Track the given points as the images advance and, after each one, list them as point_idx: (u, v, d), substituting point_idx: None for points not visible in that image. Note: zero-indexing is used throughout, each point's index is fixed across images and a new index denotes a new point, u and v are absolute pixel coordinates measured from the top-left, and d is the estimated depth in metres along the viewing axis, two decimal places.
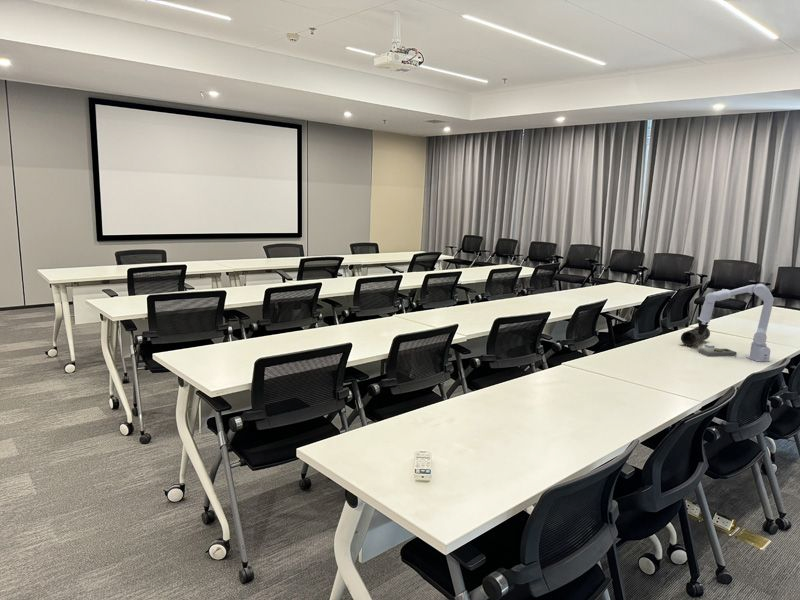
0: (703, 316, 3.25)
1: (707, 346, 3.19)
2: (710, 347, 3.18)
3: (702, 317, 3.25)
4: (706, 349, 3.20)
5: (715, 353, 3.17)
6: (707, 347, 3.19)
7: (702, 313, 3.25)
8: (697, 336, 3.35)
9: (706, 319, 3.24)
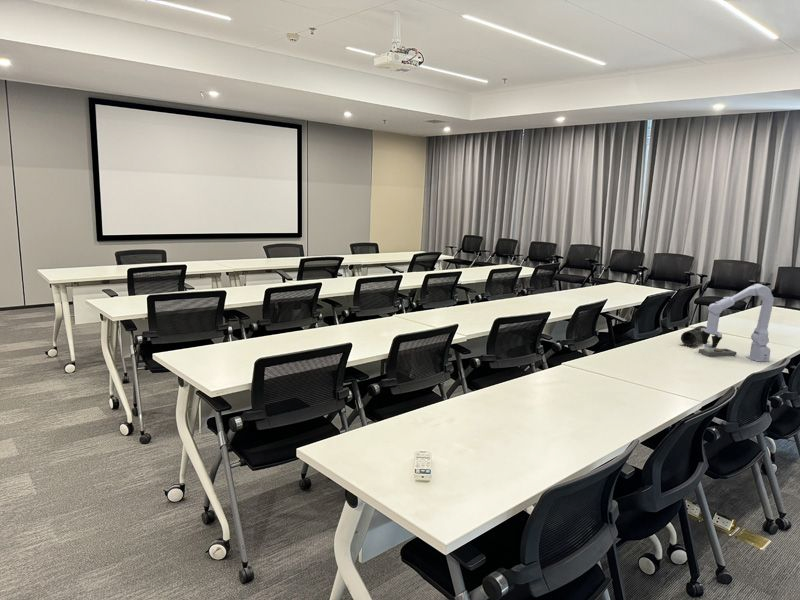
0: (713, 328, 3.15)
1: (707, 346, 3.19)
2: (710, 347, 3.18)
3: (712, 330, 3.15)
4: (706, 349, 3.20)
5: (715, 353, 3.17)
6: (707, 347, 3.19)
7: (712, 326, 3.15)
8: (697, 336, 3.35)
9: (716, 331, 3.16)
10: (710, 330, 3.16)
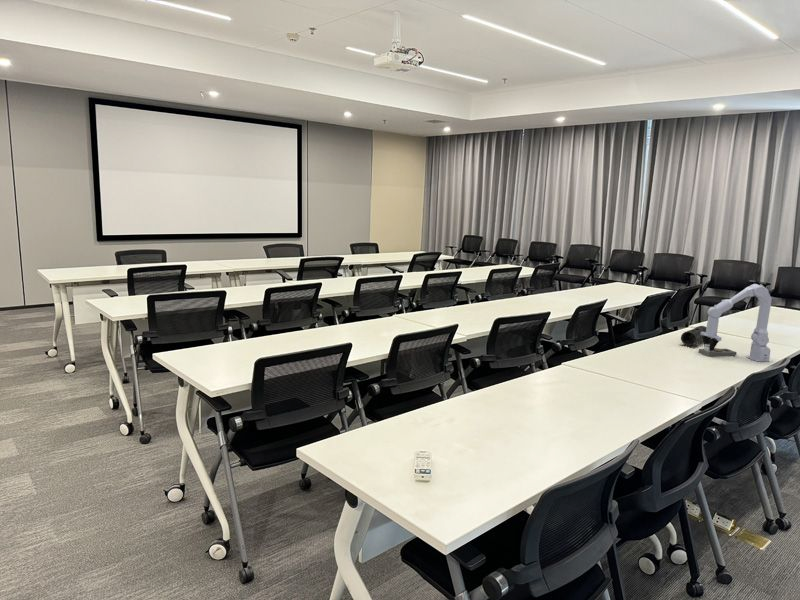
0: (713, 332, 3.15)
1: (707, 346, 3.19)
2: None
3: (712, 333, 3.16)
4: (706, 349, 3.20)
5: (715, 353, 3.17)
6: (707, 347, 3.19)
7: (711, 329, 3.16)
8: (697, 336, 3.35)
9: (716, 334, 3.16)
10: (710, 334, 3.16)
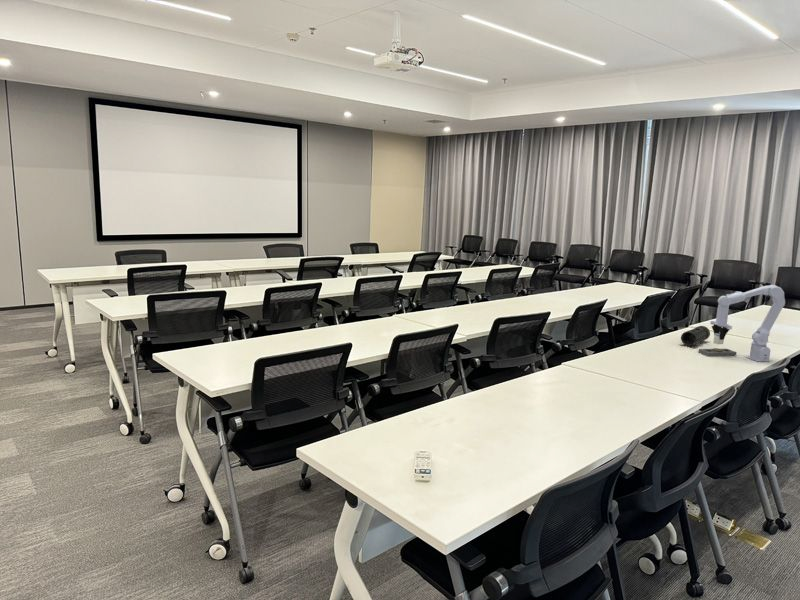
0: (723, 321, 3.15)
1: (717, 335, 3.19)
2: None
3: (722, 322, 3.15)
4: (716, 338, 3.19)
5: (715, 353, 3.17)
6: (717, 336, 3.19)
7: (721, 318, 3.15)
8: (697, 336, 3.35)
9: (726, 323, 3.16)
10: (720, 322, 3.16)
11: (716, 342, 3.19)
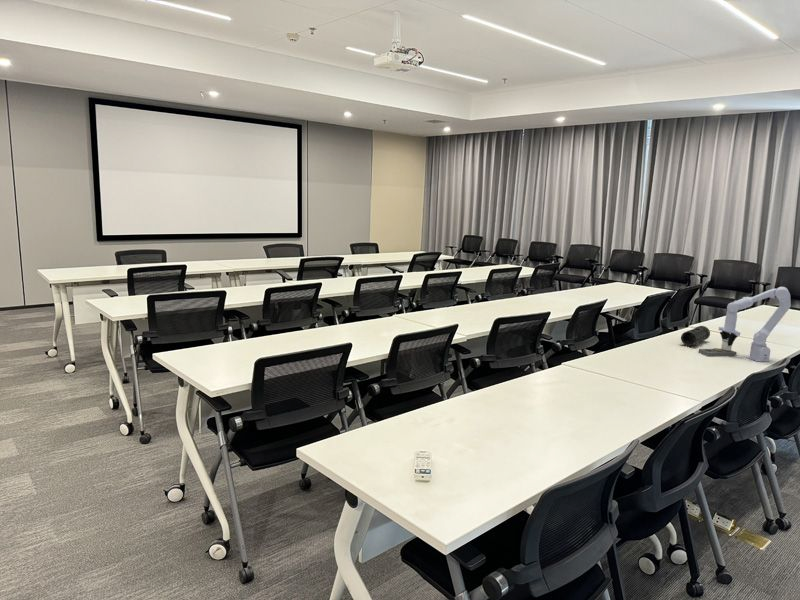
0: (731, 327, 3.17)
1: (725, 341, 3.20)
2: None
3: (730, 328, 3.17)
4: (724, 344, 3.21)
5: (715, 353, 3.17)
6: (725, 342, 3.20)
7: (730, 324, 3.17)
8: (697, 336, 3.35)
9: (734, 329, 3.18)
10: (728, 329, 3.18)
11: (724, 348, 3.21)
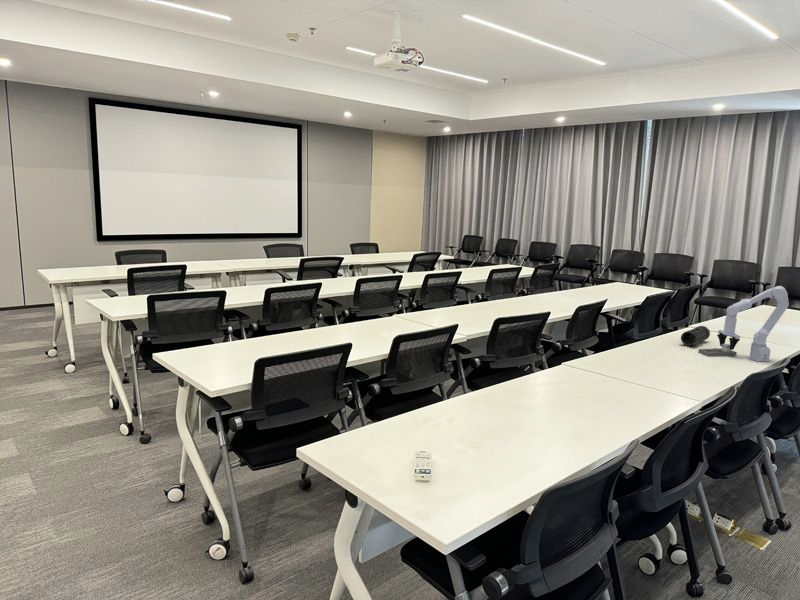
0: (731, 330, 3.17)
1: (724, 346, 3.21)
2: (727, 347, 3.20)
3: (730, 332, 3.18)
4: (723, 349, 3.22)
5: (715, 353, 3.17)
6: (724, 347, 3.21)
7: (729, 328, 3.18)
8: (697, 336, 3.35)
9: (734, 333, 3.18)
10: (728, 332, 3.18)
11: None
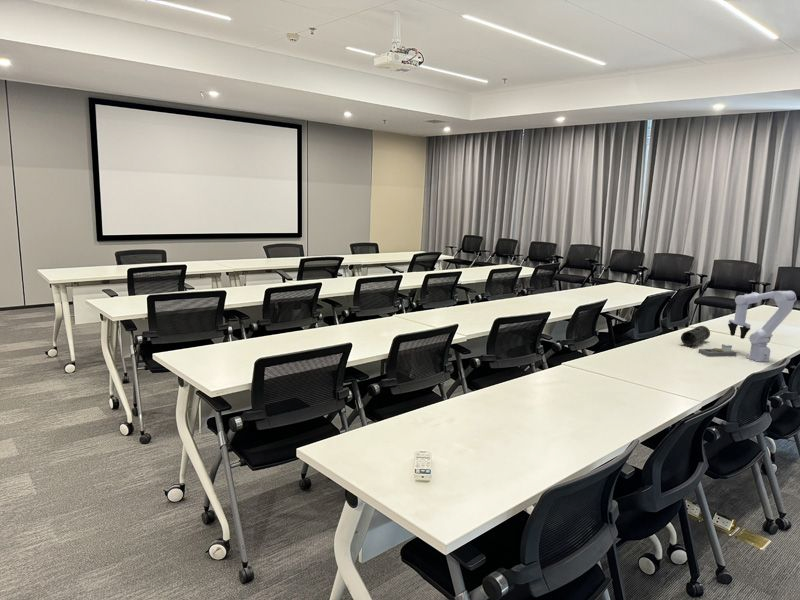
0: (742, 319, 3.21)
1: (724, 346, 3.21)
2: (728, 347, 3.20)
3: (741, 321, 3.21)
4: (723, 349, 3.22)
5: (715, 353, 3.17)
6: (724, 347, 3.21)
7: (740, 317, 3.21)
8: (697, 336, 3.35)
9: (744, 322, 3.22)
10: (738, 321, 3.22)
11: None
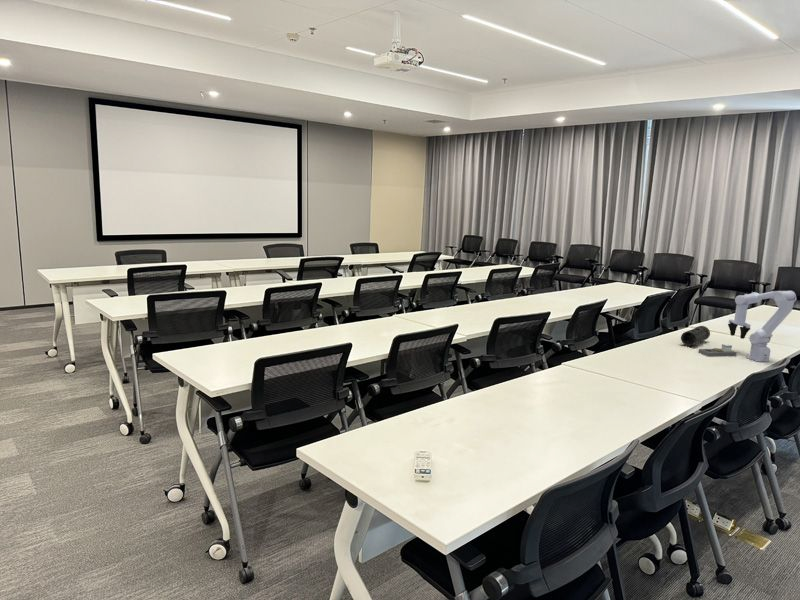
0: (742, 319, 3.21)
1: (724, 346, 3.21)
2: (728, 347, 3.20)
3: (741, 321, 3.21)
4: (723, 349, 3.22)
5: (715, 353, 3.17)
6: (724, 347, 3.21)
7: (740, 317, 3.21)
8: (697, 336, 3.35)
9: (744, 322, 3.22)
10: (738, 321, 3.22)
11: None
